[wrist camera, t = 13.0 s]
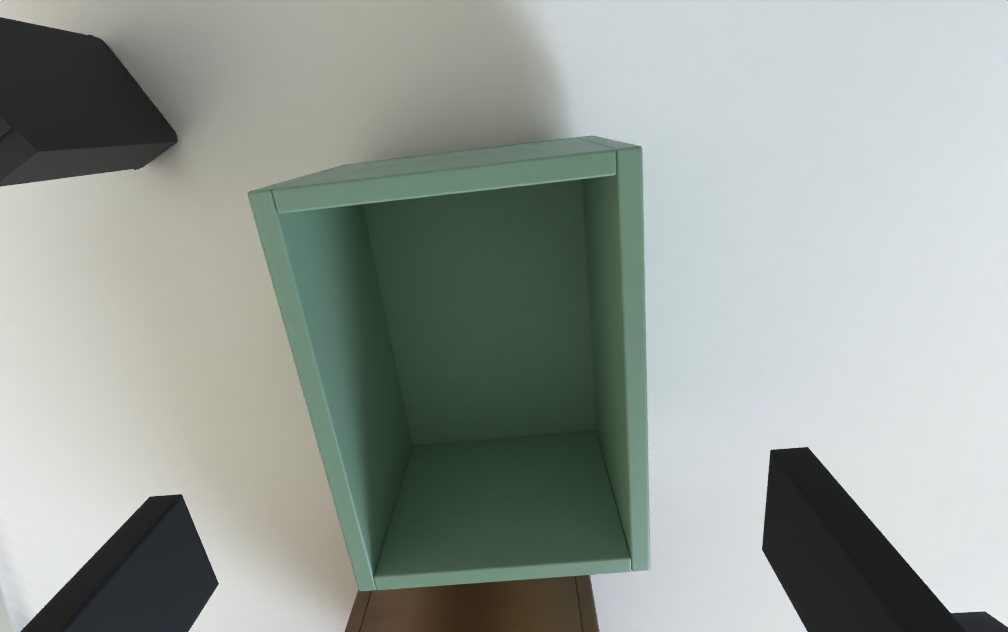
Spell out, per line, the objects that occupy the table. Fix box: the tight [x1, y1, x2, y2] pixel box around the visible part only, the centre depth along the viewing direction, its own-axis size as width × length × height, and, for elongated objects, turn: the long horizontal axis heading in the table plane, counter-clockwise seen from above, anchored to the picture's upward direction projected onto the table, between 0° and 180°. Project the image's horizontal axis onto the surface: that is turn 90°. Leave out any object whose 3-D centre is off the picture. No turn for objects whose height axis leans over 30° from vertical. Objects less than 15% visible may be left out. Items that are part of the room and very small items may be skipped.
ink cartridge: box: [0, 17, 177, 186], centre depth 20 cm, size 5×2×8 cm, turn 31°
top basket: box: [248, 136, 650, 591], centre depth 22 cm, size 11×15×10 cm
